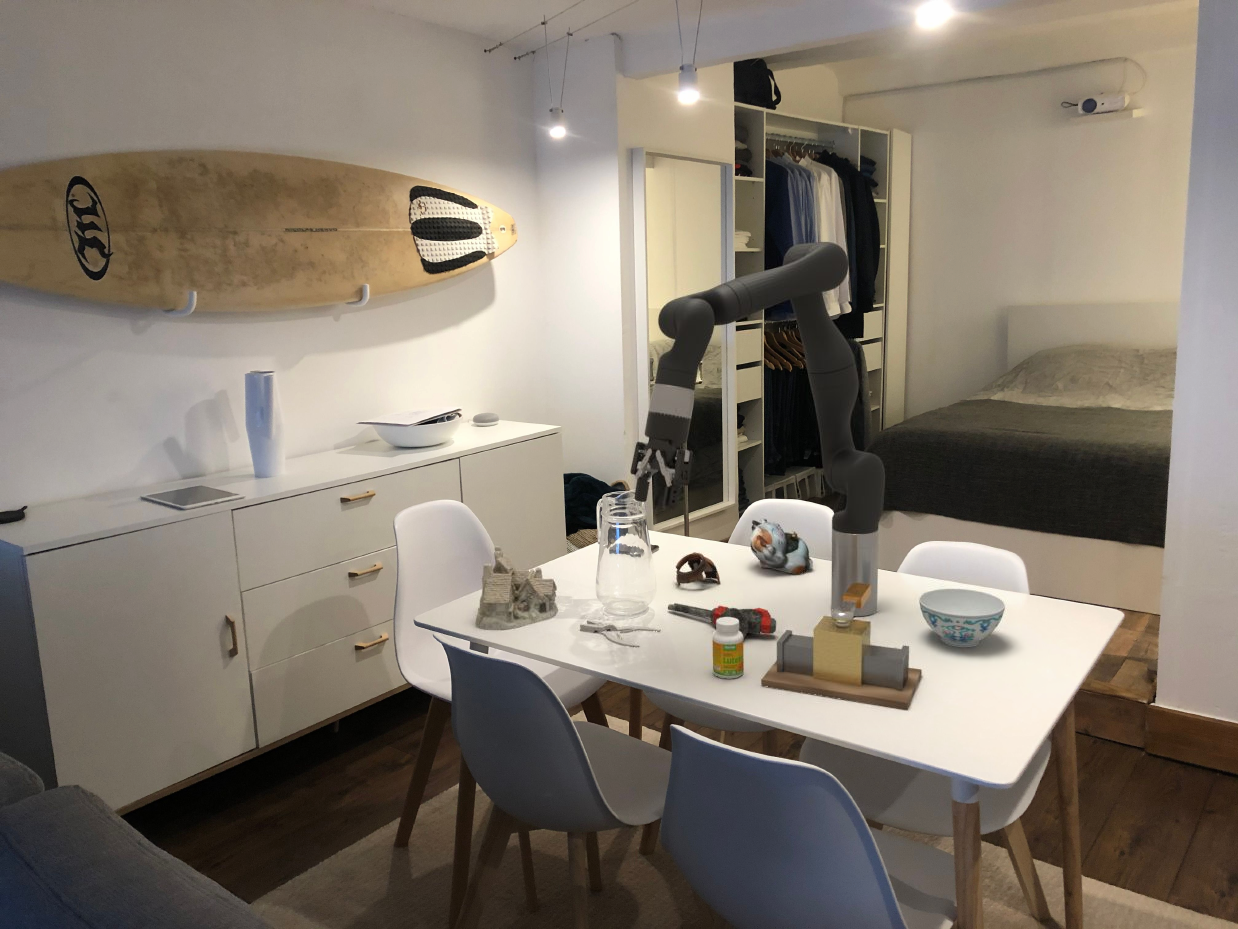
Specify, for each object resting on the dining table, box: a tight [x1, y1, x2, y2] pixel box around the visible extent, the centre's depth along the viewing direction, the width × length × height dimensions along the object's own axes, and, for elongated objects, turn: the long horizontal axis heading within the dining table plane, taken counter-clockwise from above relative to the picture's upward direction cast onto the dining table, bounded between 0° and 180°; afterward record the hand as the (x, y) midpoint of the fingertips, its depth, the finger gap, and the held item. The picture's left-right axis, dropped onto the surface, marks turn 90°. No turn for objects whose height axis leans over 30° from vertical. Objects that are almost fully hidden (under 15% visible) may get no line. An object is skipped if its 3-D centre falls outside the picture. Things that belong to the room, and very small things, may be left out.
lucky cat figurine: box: [749, 518, 814, 576], centre depth 223 cm, size 15×12×14 cm
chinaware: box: [918, 588, 1006, 648], centre depth 176 cm, size 15×15×8 cm
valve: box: [667, 602, 777, 639], centre depth 190 cm, size 6×26×15 cm
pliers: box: [579, 619, 662, 648], centre depth 186 cm, size 10×2×15 cm
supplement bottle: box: [711, 617, 745, 680], centre depth 165 cm, size 5×5×10 cm
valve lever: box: [830, 582, 871, 622], centre depth 164 cm, size 17×4×2 cm, turn 154°
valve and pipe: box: [776, 615, 910, 691], centre depth 160 cm, size 7×21×10 cm, turn 64°
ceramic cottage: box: [475, 545, 559, 631], centre depth 197 cm, size 16×16×15 cm
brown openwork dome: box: [675, 551, 721, 586], centre depth 215 cm, size 12×10×8 cm
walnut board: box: [760, 660, 923, 711], centre depth 161 cm, size 14×24×1 cm, turn 64°
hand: (653, 504), depth 164 cm, fingers open, 8 cm apart
